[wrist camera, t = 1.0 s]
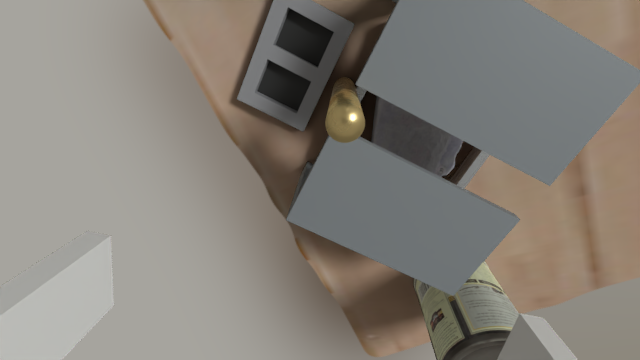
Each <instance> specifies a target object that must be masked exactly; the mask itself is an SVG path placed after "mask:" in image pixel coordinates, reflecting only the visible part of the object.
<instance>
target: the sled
mask: <svg viewBox="0 0 640 360" xmlns="http://www.w3.org/2000/svg"><path fill="white" fill-rule="evenodd" d="M366 91H367V90H365V89H363V88H361V87H359V86H357V85H356V87H355V84H354V82H353V81H352V80H351V79H349V78H345V77H344V78H340V79H338V80H337V81H336V82H335V84H334V86H333V91H332V95H331V99H330V103H329V107H328V111H327V116H326V120H325V127H326V130H327V133H328V134H329V136H330V137H331V138H332V139H334V140H336V141H338V142H341V143H348V142H352V141H354V140H356V139H357V138H358V137H360V135H361V134H362V133H363V130H364V127H365V118H364V115H363V111H362V108H361V104H360V102H361V100H362V99H363V97H364V95H365V93H366ZM489 155H490V154H488V153H486V152H484V151H482V150H480V149H478V148H476V147H473V149H472V150H471V151H470V153H469V154H468V155H467V157H466V158H465V160H464V161H463V162H462V164H461V165H460V167H459V168H458V169H457V171H456V172H455V173H454V175H453V176H452V178H451V179H450V180H449V181H450V182H452V183H454V184H456V185H458V186H460V187H462V188H465V187H466V186H467V184H468V183H469V182H470V180H471V179H472V178H473V176H474V175H475V174H476V172H477V171H478V170H479V168H480V167H481V166H482V164H483V163H484V162H485V160H486V159H487V158H488V156H489Z"/></svg>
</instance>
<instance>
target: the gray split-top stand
mask: <svg viewBox="0 0 640 360" xmlns="http://www.w3.org/2000/svg"><path fill="white" fill-rule="evenodd" d="M392 1H394V2H395V3H396V5H395V7H394V9H393V11H392V13H391V15H390V17H389V19H388V21H387V23H386V24H385V26H384V28H383V30H382V32H381V34H380V36H379V38H378V40H377V42H376V44H375V46H374V48H373V50H372V52H371V54H370V56H369V58H368V59H367V61H366V63H365V65H364V67H363V69H362V71H361V73H360V75H359V77H358V79H357V81H356V83H355V84H356V85H357V86H359V87H361V88H363V89H365V90H367V91H369V92H371V93H373V94H375V95H377V96H378V97H380V98H382V99H384V100H386V101H388V102H390V103H392V104H394V105H396V106H398V107H400V108H401V109H403V110H405V111H407V112H409V113H411V114H413V115H415V116H417V117H419V118H421V119H423V120H424V121H426V122H428V123H430V124H432V125H434V126H436V127H438V128H440V129H442V130H444V131H446V132H447V133H449V134H451V135H453V136H455V137H457V138H459V139H461V140H463V141H465V142H467V143H469V144H471V145H472V146H474V147H476V148H478V149H480V150H482V151H484V152H486V153H488V154H490V155H492V156H494V157H495V158H497V159H499V160H501V161H503V162H505V163H507V164H509V165H511V166H513V167H515V168H517V169H518V170H520V171H522V172H524V173H526V174H528V175H530V176H532V177H534V178H536V179H538V180H540V181H541V182H543V183H545V184H547V185H549V186H550V185H551V184H552V183H553V182H554V180H555V179H556V178H557V177H558V176H559V175H560V174H561V172H562V171H563V170H564V169H565V168H566V167H567V166H568V164H569V163H570V162H571V161H572V160H573V159H574V158H575V156H576V155H577V154H578V153H579V152H580V151H581V150H582V148H583V147H584V146H585V145H586V144H587V143H588V142H589V140H590V139H591V138H592V137H593V136H594V135H595V134H596V132H597V131H598V130H599V129H600V128H601V127H602V126H603V124H604V123H605V122H606V121H607V120H608V119H609V118H610V116H611V115H612V114H613V113H614V112H615V111H616V110H617V108H618V107H619V106H620V105H621V104H622V103H623V102H624V100H625V99H626V98H627V97H628V96H629V95H630V94H631V92H632V91H633V90H634V89H635V88H636V87H637V86H638V84H639V83H640V70H639V69H637V68H635V67H634V66H632V65H630V64H629V63H627V62H625V61H624V60H622V59H620V58H619V57H617V56H615V55H614V54H612V53H610V52H609V51H607V50H605V49H604V48H602V47H600V46H599V45H597V44H595V43H593V42H592V41H590V40H588V39H587V38H585V37H583V36H582V35H580V34H578V33H577V32H575V31H573V30H572V29H570V28H568V27H567V26H565V25H563V24H562V23H560V22H558V21H557V20H555V19H553V18H552V17H550V16H548V15H547V14H545V13H543V12H542V11H540V10H538V9H536V8H535V7H533V6H531V5H530V4H528V3H526V2H525V1H523V0H392ZM286 220H287V221H289V222H291V223H293V224H296V225H298V226H300V227H302V228H304V229H307V230H309V231H311V232H313V233H315V234H318V235H320V236H322V237H324V238H327V239H329V240H331V241H333V242H335V243H338V244H340V245H342V246H344V247H346V248H349V249H351V250H353V251H355V252H357V253H360V254H362V255H364V256H366V257H368V258H371V259H373V260H375V261H377V262H379V263H382V264H384V265H386V266H388V267H390V268H393V269H395V270H397V271H399V272H401V273H404V274H406V275H408V276H410V277H413V278H415V279H417V280H419V281H421V282H424V283H426V284H428V285H430V286H432V287H435V288H437V289H439V290H441V291H443V292H446V293H448V294H450V295H452V296H454V295H455V294H456V292H457V291H458V290H459V289H460V288H461V287H462V286H463V284H464V283H465V282H466V281H467V280H468V279H469V278H470V276H471V275H472V274H473V273H474V272H475V271H476V270H477V268H478V267H479V266H480V265H481V264H482V263H483V262H484V260H485V259H486V258H487V257H488V256H489V255H490V254H491V252H492V251H493V250H494V249H495V248H496V247H497V246H498V244H499V243H500V242H501V241H502V240H503V239H504V238H505V236H506V235H507V234H508V233H509V232H510V231H511V230H512V228H513V227H514V226H515V225H516V224H517V223H518V222H519V220H520V219H519V218H518V217H517V216H516V215H515V214H514V213H512V212H510V211H508V210H506V209H504V208H502V207H500V206H498V205H496V204H494V203H492V202H490V201H488V200H486V199H484V198H482V197H480V196H478V195H476V194H474V193H472V192H470V191H468V190H466V189H464V188H462V187H460V186H458V185H456V184H454V183H452V182H450V181H448V180H446V179H444V178H442V177H440V176H438V175H436V174H434V173H432V172H430V171H428V170H426V169H424V168H422V167H420V166H418V165H416V164H414V163H412V162H410V161H408V160H406V159H404V158H402V157H400V156H398V155H396V154H394V153H392V152H390V151H388V150H386V149H384V148H382V147H380V146H378V145H376V144H374V143H372V142H370V141H368V140H366V139H364V138H362V137H358V138H357V139H356V140H354V141H352V142H348V143H341V142H338V141H336V140H334V139H332V138H331V137H330V136H329V135H328V137H327V139H326V141H325V143H324V145H323V147H322V149H321V151H320V153H319V155H318V157H317V159H316V161H315V163H314V164H312V163H310V162H307V164H306V166H305V168H304V170H303V172H302V174H301V176H300V179H299V182H298V185H297V188H296V191H295V194H294V197H293V200H292V203H291V206H290V209H289V212H288V215H287V218H286Z"/></svg>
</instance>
